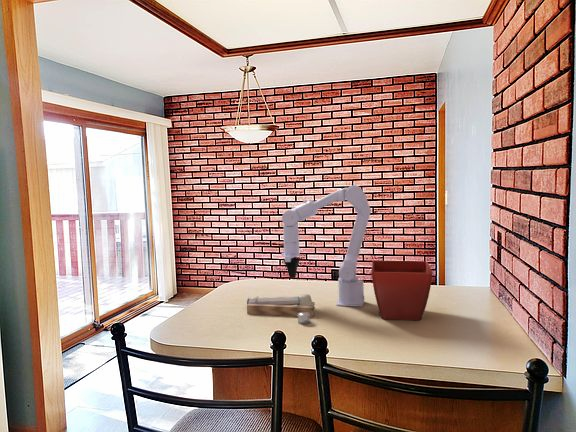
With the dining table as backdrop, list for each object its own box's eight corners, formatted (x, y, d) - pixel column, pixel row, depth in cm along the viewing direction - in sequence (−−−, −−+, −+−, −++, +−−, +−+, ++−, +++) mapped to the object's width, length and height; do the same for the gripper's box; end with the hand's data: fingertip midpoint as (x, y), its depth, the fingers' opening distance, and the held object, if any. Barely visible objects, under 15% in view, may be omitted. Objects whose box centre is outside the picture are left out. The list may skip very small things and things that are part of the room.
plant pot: (433, 324, 144) (433, 272, 143) (371, 322, 148) (371, 271, 146) (427, 307, 163) (427, 260, 161) (372, 305, 166) (372, 260, 165)
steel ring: (311, 320, 152) (310, 312, 151) (308, 324, 148) (308, 315, 147) (299, 320, 152) (299, 311, 152) (296, 324, 149) (296, 315, 148)
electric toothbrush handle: (251, 295, 171) (314, 290, 163) (253, 313, 172) (317, 308, 163) (245, 299, 167) (310, 293, 158) (248, 317, 167) (313, 312, 159)
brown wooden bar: (314, 314, 158) (314, 306, 158) (313, 316, 156) (313, 307, 156) (249, 311, 164) (248, 303, 164) (247, 313, 162) (246, 305, 161)
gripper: (285, 239, 180) (286, 273, 181) (276, 244, 166) (277, 281, 167) (303, 239, 178) (304, 273, 179) (295, 244, 164) (296, 281, 165)
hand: (292, 277), depth 173 cm, fingers closed
